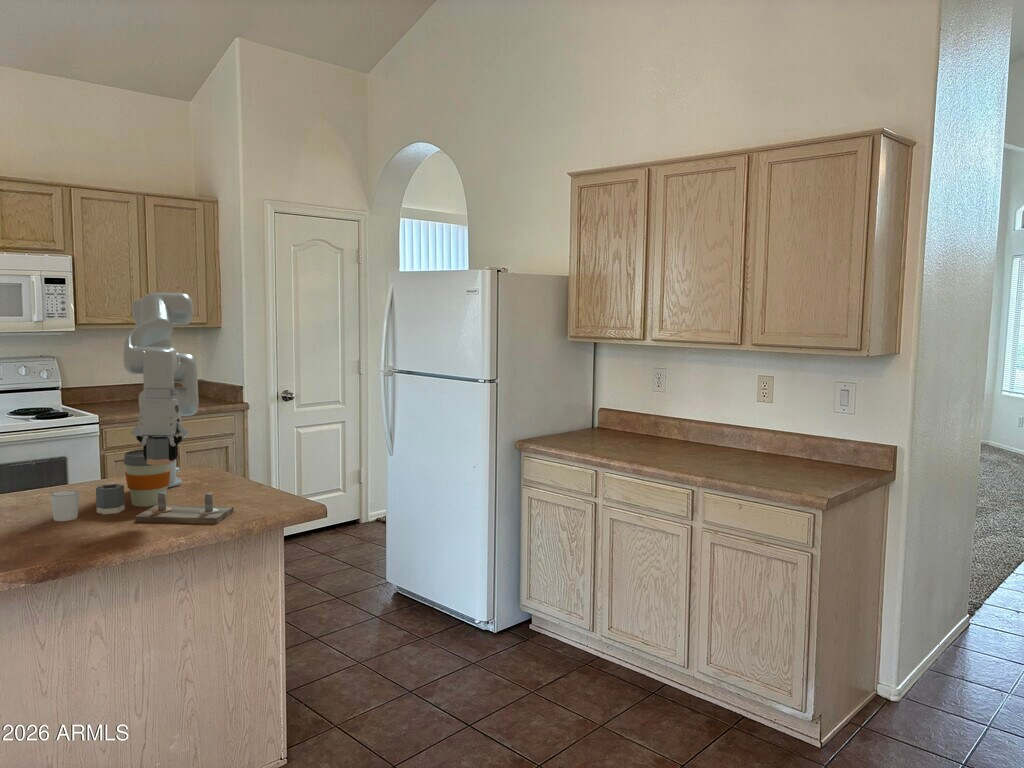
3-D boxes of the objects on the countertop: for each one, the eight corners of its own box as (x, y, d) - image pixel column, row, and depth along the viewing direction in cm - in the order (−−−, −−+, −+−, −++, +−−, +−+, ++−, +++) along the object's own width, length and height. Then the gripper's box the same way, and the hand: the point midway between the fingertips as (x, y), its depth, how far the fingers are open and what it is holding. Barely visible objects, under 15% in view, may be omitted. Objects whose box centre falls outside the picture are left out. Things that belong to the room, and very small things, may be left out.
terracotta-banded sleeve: (155, 460, 213) (155, 435, 212) (177, 460, 213) (176, 435, 212) (143, 465, 206) (142, 439, 205) (165, 465, 206) (165, 439, 205)
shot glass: (53, 516, 210) (52, 490, 209) (82, 514, 212) (81, 489, 211) (48, 522, 203) (47, 496, 203) (77, 520, 206) (76, 495, 205)
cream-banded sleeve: (106, 507, 219) (105, 483, 218) (127, 508, 219) (126, 484, 218) (93, 514, 212) (92, 489, 211) (114, 514, 212) (114, 489, 211)
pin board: (156, 510, 217) (155, 487, 217) (233, 511, 217) (233, 489, 217) (135, 521, 205) (134, 498, 205) (216, 523, 205) (216, 500, 205)
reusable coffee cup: (120, 509, 218) (119, 457, 216) (130, 498, 230) (128, 449, 228) (168, 506, 221) (167, 455, 220) (175, 496, 233) (174, 447, 232)
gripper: (196, 393, 212) (197, 457, 213) (134, 392, 212) (136, 456, 213) (184, 396, 204) (186, 462, 206) (120, 395, 204) (122, 461, 206)
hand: (160, 459), depth 209 cm, fingers closed on terracotta-banded sleeve, 6 cm apart
